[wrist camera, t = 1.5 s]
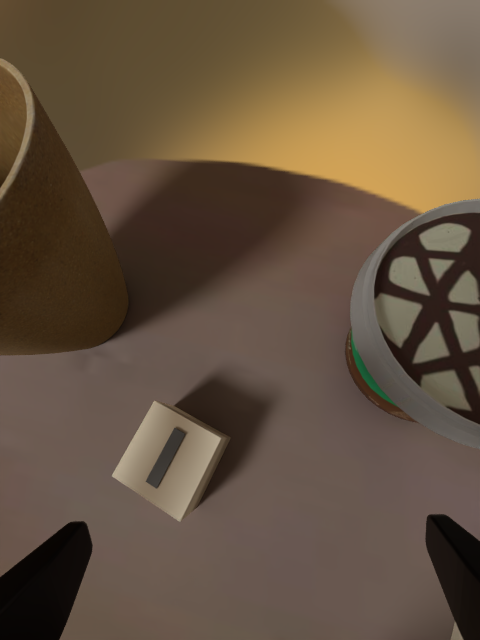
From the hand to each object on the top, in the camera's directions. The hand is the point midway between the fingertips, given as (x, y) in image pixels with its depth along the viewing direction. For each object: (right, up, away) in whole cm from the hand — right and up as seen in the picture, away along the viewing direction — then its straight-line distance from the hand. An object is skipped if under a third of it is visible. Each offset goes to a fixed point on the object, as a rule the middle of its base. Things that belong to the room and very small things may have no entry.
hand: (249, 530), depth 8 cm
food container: (+10, +3, +16) cm, 19 cm away
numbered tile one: (-4, -4, +15) cm, 16 cm away
